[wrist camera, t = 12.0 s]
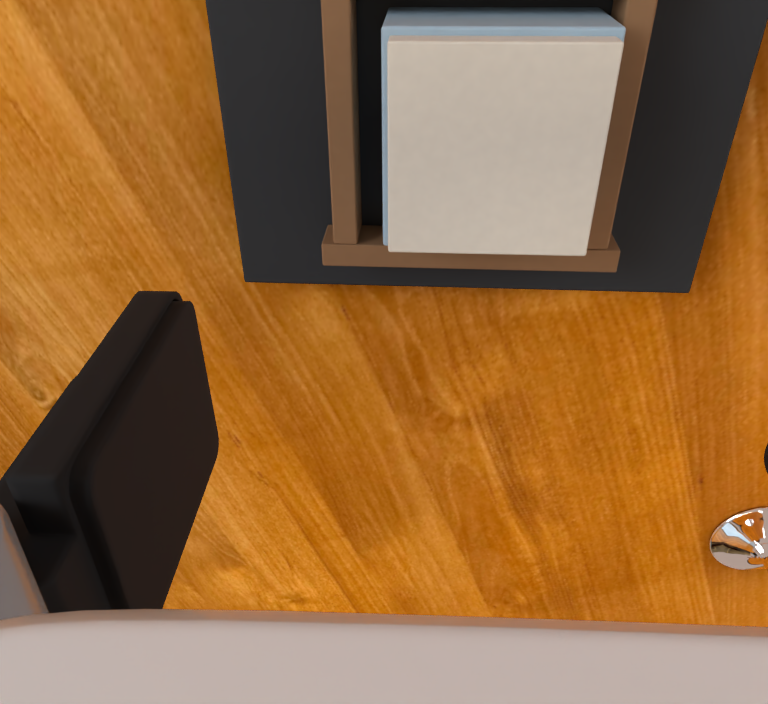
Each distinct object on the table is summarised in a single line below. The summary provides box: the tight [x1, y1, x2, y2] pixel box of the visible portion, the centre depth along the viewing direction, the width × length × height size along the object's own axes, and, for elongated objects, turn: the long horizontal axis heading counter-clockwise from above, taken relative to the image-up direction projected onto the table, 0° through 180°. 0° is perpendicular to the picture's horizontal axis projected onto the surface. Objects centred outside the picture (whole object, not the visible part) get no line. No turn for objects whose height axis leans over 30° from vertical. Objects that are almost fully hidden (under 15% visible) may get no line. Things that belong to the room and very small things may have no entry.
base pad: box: [206, 0, 768, 293], centre depth 21 cm, size 16×12×3 cm
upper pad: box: [381, 7, 626, 256], centre depth 19 cm, size 6×6×4 cm
